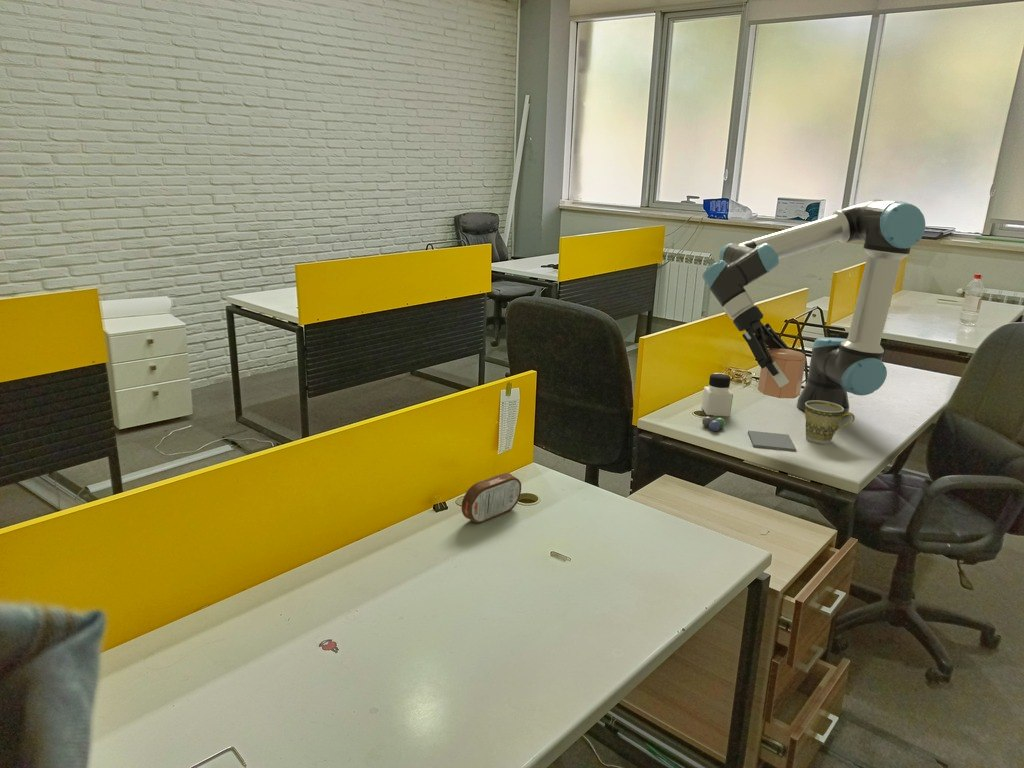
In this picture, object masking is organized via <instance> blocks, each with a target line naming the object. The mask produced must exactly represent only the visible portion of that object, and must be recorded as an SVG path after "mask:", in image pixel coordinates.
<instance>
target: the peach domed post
mask: <svg viewBox="0 0 1024 768" xmlns="http://www.w3.org/2000/svg"><path fill="white" fill-rule="evenodd" d="M768 351H769V353H770V356H771V358H772V361H773V362H774V361H775V362H776V363H777V365H778V366H779V368H780V369H781V370H782V372H783V373H784V375H785V376H786V378H787V379H788V380H789V383H787V384H786V385H784V386H782V387H781V388H780V387H779V386H778V384H777V383H776V381H775V380H774V378H773V377H772V376H771V374H770V373H769V371H768V370H767V368H766V367H764V368H763V369H762V368H761V367H760V371H759V379H758V385H757V391H759V392H760V393H761V394H762V395H765V396H768V397H773V398H777V399H796V398H797V397H798V398H799V396H800V394H801V392H802V391H801V389H802V384H803V379H804V373H805V367H806V362H807V358H806V354H805V353H803V352H801V351H797V350H794V349H791V348H790V349H782V348H768ZM773 362H772V363H773Z"/></svg>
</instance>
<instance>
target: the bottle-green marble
mask: <svg viewBox="0 0 1024 768" xmlns="http://www.w3.org/2000/svg"><path fill="white" fill-rule="evenodd" d="M714 421H718V422H719V424H720V428H719V429H722V428H724V427H725V425H726V422H725V419H724V418H722V417H717V418H716V419H714Z"/></svg>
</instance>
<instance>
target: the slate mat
mask: <svg viewBox="0 0 1024 768" xmlns="http://www.w3.org/2000/svg"><path fill="white" fill-rule="evenodd" d="M747 434H748V437H749V440H750V441H751V442H750V443H752V446H753V448H763V449H772V450H780V451H781V450H782V451H791V452H792V451H793V452H797V448H796V446H795V444H794V442H793V440H792V439H791V436H790V435H789V434H787V433H779V432H778V433H776V432H765V431H764V432H763V431H756V430H747Z"/></svg>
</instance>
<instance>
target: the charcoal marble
mask: <svg viewBox="0 0 1024 768" xmlns="http://www.w3.org/2000/svg"><path fill="white" fill-rule="evenodd" d="M701 421H702V423H701V424H702V425H703V427H706V428H709V424H710V422H711V421H714V419H713V418H712V417H710V416H705V417H704V418H703V419H702V420H701Z"/></svg>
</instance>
